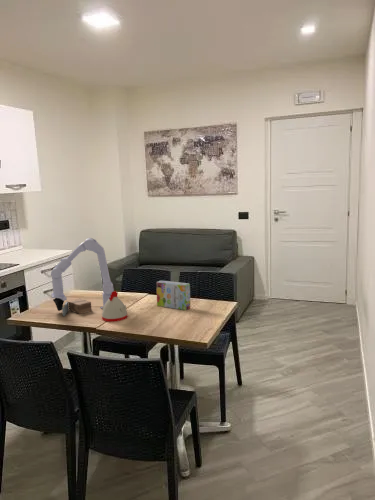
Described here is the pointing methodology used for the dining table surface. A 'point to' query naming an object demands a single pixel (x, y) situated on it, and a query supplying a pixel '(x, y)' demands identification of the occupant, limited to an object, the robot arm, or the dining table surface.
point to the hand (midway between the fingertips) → (59, 310)
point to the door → (65, 308)
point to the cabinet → (80, 306)
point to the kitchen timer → (114, 309)
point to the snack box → (173, 294)
